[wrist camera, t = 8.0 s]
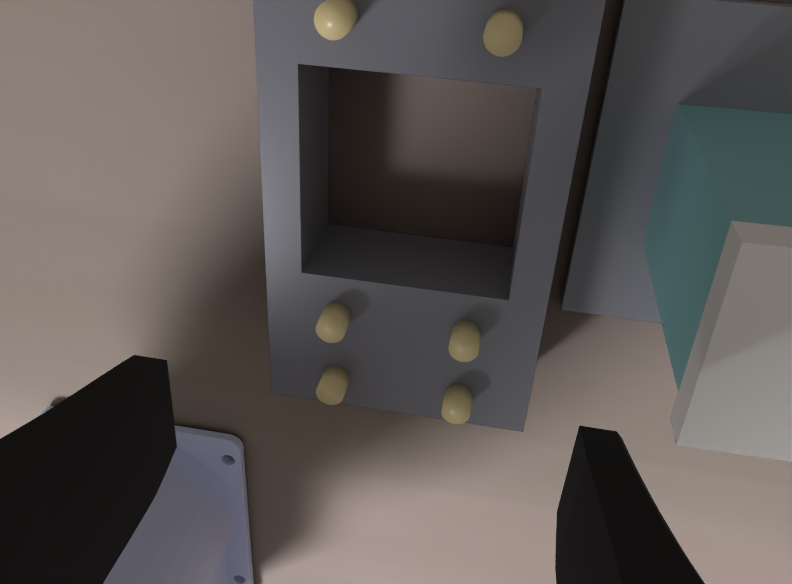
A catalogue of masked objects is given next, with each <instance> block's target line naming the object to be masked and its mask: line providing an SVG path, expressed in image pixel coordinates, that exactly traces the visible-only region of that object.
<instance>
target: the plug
mask: <svg viewBox="0 0 792 584" xmlns="http://www.w3.org/2000/svg"><path fill="white" fill-rule="evenodd" d="M643 248H644V252H645V256H646V260H647V264H648V268H649V273H650V277H651V281H652V285H653V289H654V293H655V297H656V302H657V306H658V310H659V314H660V318H661V322H662V326H663V331H664V335H665V339H666V343H667V347H668V351H669V355H670V360H671V364H672V368H673V372H674V376H675V380H676V384H677V388H678V395H677V398H676V401H675V405H674V408H673V411H672V414H671V417H670V418H671V423H672V428H673V432H674V437H675V441H676V445H677V446H684V447H691V448H698V449H705V450H712V451H719V452H726V453H733V454H740V455H747V456H754V457H761V458H768V459H775V460H782V461H789V462H792V114H784V113H773V112H762V111H751V110H739V109H728V108H717V107H706V106H695V105H683V104H677V106H676V110H675V114H674V118H673V122H672V126H671V130H670V134H669V139H668V143H667V147H666V151H665V155H664V159H663V163H662V167H661V171H660V175H659V179H658V183H657V188H656V192H655V196H654V200H653V204H652V208H651V212H650V216H649V220H648V224H647V228H646V232H645V236H644V241H643Z"/></svg>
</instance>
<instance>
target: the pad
mask: <svg viewBox="0 0 792 584" xmlns="http://www.w3.org/2000/svg"><path fill="white" fill-rule="evenodd" d="M677 104H683V105H695V106H706V107H717V108H728V109H739V110H751V111H762V112H773V113H784V114H792V4H785V3H773V2H761V1H749V0H623V1H622V6H621V11H620V16H619V21H618V26H617V31H616V36H615V41H614V46H613V50H612V55H611V60H610V65H609V70H608V75H607V80H606V85H605V90H604V95H603V100H602V105H601V110H600V114H599V119H598V124H597V129H596V134H595V139H594V144H593V149H592V154H591V159H590V164H589V169H588V174H587V179H586V183H585V188H584V193H583V198H582V203H581V208H580V213H579V218H578V223H577V228H576V233H575V238H574V243H573V247H572V252H571V257H570V262H569V267H568V272H567V277H566V282H565V287H564V292H563V297H562V302H561V310H565V311H573V312H580V313H587V314H595V315H602V316H610V317H617V318H625V319H632V320H640V321H647V322H655V323H662V322H661V318H660V314H659V310H658V306H657V302H656V297H655V293H654V289H653V285H652V281H651V277H650V273H649V268H648V264H647V260H646V256H645V252H644V248H643V241H644V236H645V232H646V228H647V224H648V220H649V216H650V212H651V208H652V204H653V200H654V196H655V192H656V188H657V183H658V179H659V175H660V171H661V167H662V163H663V159H664V155H665V151H666V147H667V143H668V139H669V134H670V130H671V126H672V122H673V118H674V114H675V110H676V106H677Z"/></svg>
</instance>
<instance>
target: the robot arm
mask: <svg viewBox="0 0 792 584" xmlns="http://www.w3.org/2000/svg"><path fill="white" fill-rule="evenodd" d="M227 455H229V456H231V457H233V458H231V457H229V456H227ZM555 569H556V582H557V584H705V583H704V582H703V580H702V579H701V577H700V576H699V574H698V573H697V571H696V570H695V568H694V567H693V565H692V564H691V562H690V561H689V559H688V558H687V556H686V555H685V553H684V551H683V550H682V548H681V547H680V545H679V543H678V542H677V540H676V538H675V537H674V535H673V533H672V532H671V530H670V528H669V527H668V525H667V523H666V522H665V520H664V518H663V516H662V515H661V513H660V511H659V510H658V508H657V506H656V504H655V502H654V501H653V499H652V497H651V495H650V493H649V491H648V490H647V488H646V486H645V484H644V482H643V480H642V478H641V476H640V474H639V472H638V471H637V469H636V467H635V465H634V463H633V461H632V459H631V456H630V454H629V452H628V450H627V448H626V446H625V444H624V442H623V440H622V438H621V436H620V435H619V434H618V432H616V431H610V430H604V429H597V428H591V427H585V426H579V430H578V434H577V437H576V441H575V445H574V449H573V453H572V456H571V460H570V464H569V468H568V472H567V476H566V479H565V483H564V487H563V491H562V495H561V498H560V502H559V506H558V510H557V529H556V567H555ZM0 584H254V579H253V566H252V553H251V540H250V527H249V514H248V501H247V488H246V474H245V461H244V448H243V444H242V442H241V440H240V439H239V438H238V437H236V436H234V435H231V434H225V433H219V432H213V431H207V430H201V429H194V428H188V427H182V426H176V425H174V417H173V408H172V400H171V391H170V383H169V374H168V366H167V360H162V359H156V358H149V357H143V356H137V355H134V356H132V357H130V358H129V359H127V360H125V361H124V362H122V363H120V364H119V365H117V366H116V367H114V368H113V369H111V370H109V371H108V372H106V373H105V374H103V375H102V376H100V377H99V378H97V379H96V380H94V381H93V382H91V383H90V384H88V385H87V386H85V387H84V388H82V389H80V390H79V391H77V392H76V393H74V394H73V395H71V396H70V397H68V398H67V399H65V400H63V401H62V402H60V403H59V404H57V405H56V406H50V407H47V408H46V409H45V411H44V412H43V413H42V414H41V415H40V416H38V417H37V418H35V419H33V420H32V421H30V422H29V423H27V424H25V425H23V426H22V427H20V428H18V429H17V430H15V431H13V432H11V433H10V434H8V435H6V436H4V437H3V438H1V439H0Z"/></svg>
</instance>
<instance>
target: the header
mask: <svg viewBox="0 0 792 584" xmlns="http://www.w3.org/2000/svg"><path fill="white" fill-rule="evenodd" d="M605 3H606V0H253V6H254V28H255V49H256V71H257V92H258V113H259V135H260V156H261V178H262V199H263V220H264V242H265V263H266V284H267V306H268V327H269V349H270V370H271V391H272V393H273V394H280V395H286V396H293V397H299V398H306V399H312V400H319V401H321V402H323V403H325V404H327V405H337V404H345V405H352V406H358V407H365V408H371V409H378V410H384V411H391V412H397V413H404V414H410V415H417V416H423V417H430V418H436V419H443V420H446V421H447V422H449V423H452V424H462V423H469V424H476V425H482V426H489V427H495V428H502V429H508V430H515V431H521V432H523V431H524V425H525V420H526V415H527V410H528V405H529V399H530V394H531V389H532V384H533V379H534V373H535V368H536V363H537V358H538V352H539V347H540V342H541V337H542V332H543V326H544V321H545V316H546V311H547V305H548V300H549V295H550V290H551V285H552V279H553V274H554V269H555V264H556V259H557V253H558V248H559V243H560V238H561V232H562V227H563V222H564V217H565V212H566V206H567V201H568V196H569V191H570V186H571V180H572V175H573V170H574V165H575V159H576V154H577V149H578V144H579V139H580V133H581V128H582V123H583V118H584V112H585V107H586V102H587V97H588V92H589V86H590V81H591V76H592V71H593V66H594V60H595V55H596V50H597V45H598V39H599V34H600V29H601V24H602V19H603V13H604V8H605ZM329 67H334V68H344V69H354V70H364V71H374V72H384V73H394V74H404V75H414V76H424V77H434V78H444V79H454V80H464V81H474V82H484V83H494V84H504V85H513V86H523V87H533V88H537V95H536V101H535V108H534V114H533V121H532V127H531V133H530V140H529V146H528V153H527V159H526V166H525V172H524V179H523V185H522V192H521V198H520V205H519V211H518V218H517V224H516V231H515V237H514V243H513V247H508V246H500V245H492V244H484V243H476V242H468V241H460V240H452V239H444V238H436V237H429V236H421V235H413V234H405V233H397V232H389V231H381V230H373V229H365V228H357V227H349V226H341V225H333V224H328V195H329Z"/></svg>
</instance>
